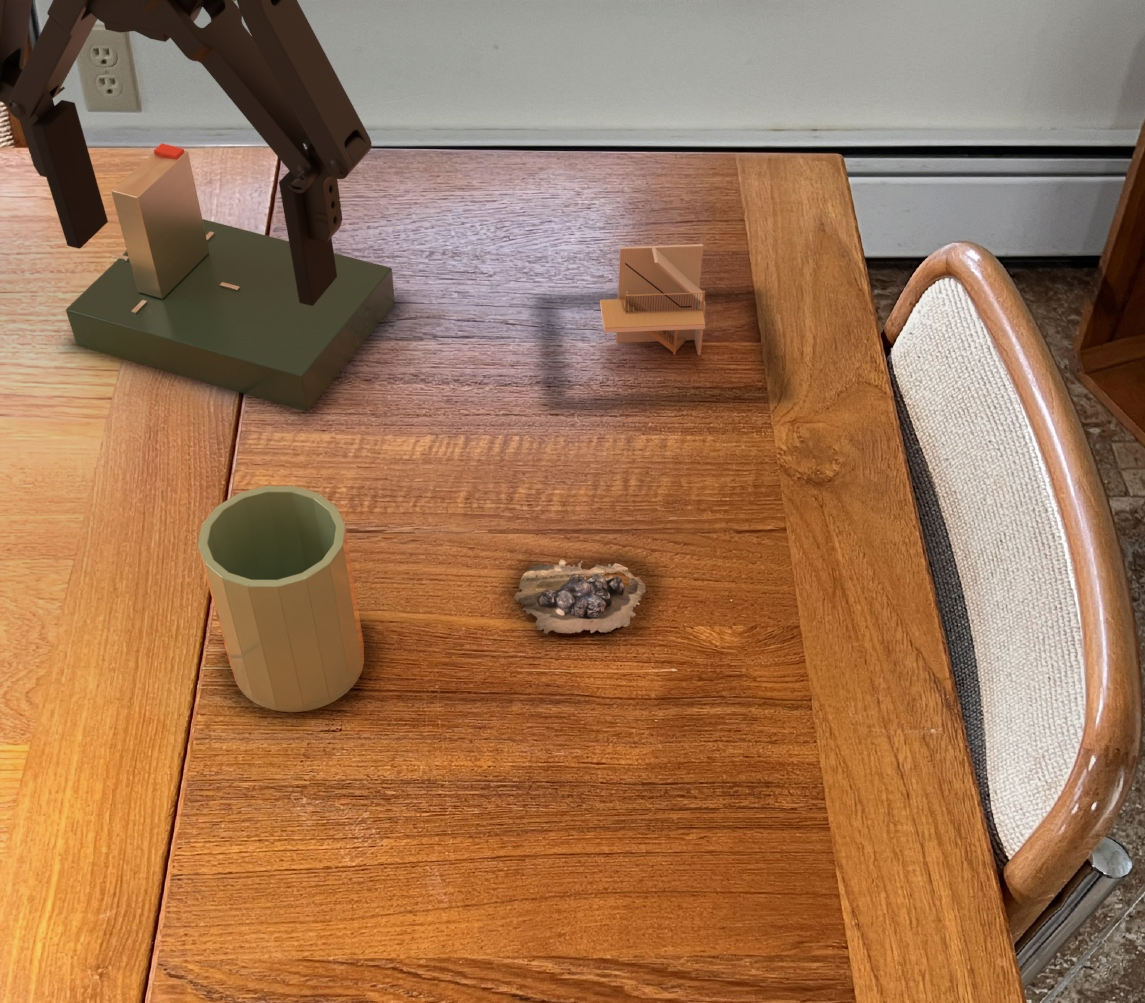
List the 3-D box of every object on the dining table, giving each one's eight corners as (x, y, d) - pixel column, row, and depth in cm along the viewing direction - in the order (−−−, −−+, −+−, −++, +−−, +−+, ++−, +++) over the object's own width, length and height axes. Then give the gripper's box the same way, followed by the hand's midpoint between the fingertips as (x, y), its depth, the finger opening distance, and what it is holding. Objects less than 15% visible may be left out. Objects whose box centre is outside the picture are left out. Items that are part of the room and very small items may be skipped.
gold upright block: (162, 299, 96) (136, 193, 90) (137, 292, 97) (109, 186, 90) (209, 252, 100) (187, 147, 93) (185, 245, 100) (161, 140, 94)
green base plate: (69, 344, 98) (56, 305, 95) (170, 244, 105) (160, 205, 103) (308, 413, 94) (301, 374, 91) (395, 304, 101) (392, 265, 99)
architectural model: (703, 369, 97) (713, 274, 91) (602, 373, 97) (606, 278, 91) (696, 339, 99) (706, 243, 93) (598, 342, 99) (601, 247, 93)
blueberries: (496, 585, 85) (495, 562, 83) (612, 540, 87) (613, 517, 86) (551, 660, 81) (551, 637, 80) (670, 610, 84) (672, 588, 82)
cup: (208, 689, 80) (171, 561, 72) (274, 600, 84) (245, 470, 76) (326, 729, 78) (300, 603, 70) (386, 637, 82) (369, 508, 74)
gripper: (417, -201, 56) (451, 273, 73) (-108, -283, 61) (37, 176, 78) (330, -128, 52) (387, 357, 69) (-225, -223, 57) (-46, 248, 74)
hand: (201, 261), depth 74 cm, fingers open, 13 cm apart
